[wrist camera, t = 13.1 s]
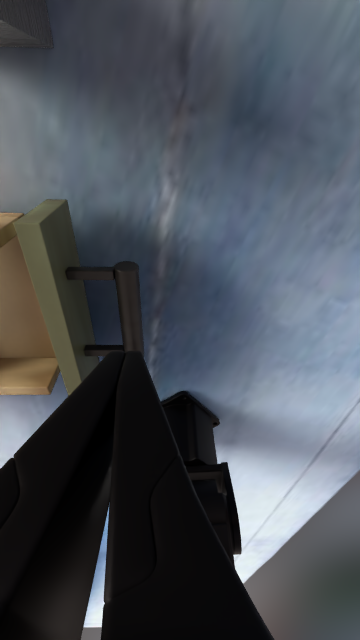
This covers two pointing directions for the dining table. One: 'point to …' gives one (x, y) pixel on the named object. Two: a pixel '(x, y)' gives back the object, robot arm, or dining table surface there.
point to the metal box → (25, 24)
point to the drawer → (54, 303)
